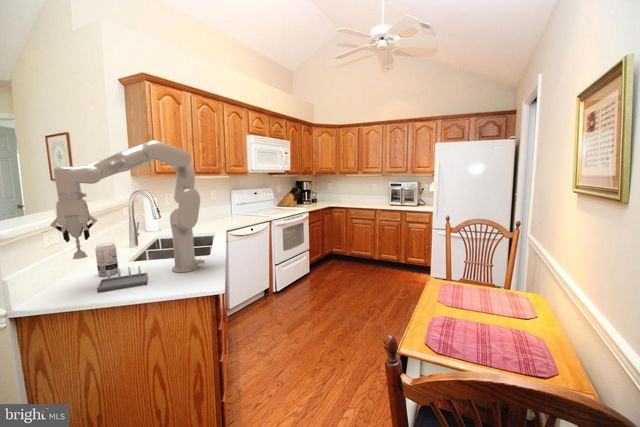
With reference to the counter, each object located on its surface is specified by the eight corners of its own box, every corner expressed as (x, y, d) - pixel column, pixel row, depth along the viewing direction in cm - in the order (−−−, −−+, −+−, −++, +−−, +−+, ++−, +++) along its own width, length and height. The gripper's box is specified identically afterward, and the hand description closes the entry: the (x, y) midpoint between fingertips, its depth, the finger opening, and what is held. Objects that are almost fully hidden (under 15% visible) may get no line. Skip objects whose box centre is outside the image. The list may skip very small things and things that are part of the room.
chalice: (77, 255, 128) (71, 214, 125) (94, 254, 129) (88, 213, 126) (64, 260, 121) (57, 217, 118) (82, 259, 122) (75, 216, 119)
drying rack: (147, 276, 143) (146, 264, 142) (146, 284, 133) (145, 271, 132) (101, 283, 135) (100, 270, 134) (97, 292, 124) (95, 279, 123)
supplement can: (101, 272, 149) (97, 243, 147) (120, 270, 153) (117, 241, 151) (96, 277, 142) (92, 247, 140) (116, 275, 145) (113, 245, 143)
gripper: (97, 194, 128) (103, 235, 131) (45, 198, 120) (53, 241, 123) (94, 196, 122) (101, 239, 125) (39, 199, 114) (47, 245, 117)
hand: (77, 239), depth 124 cm, fingers closed on chalice, 5 cm apart
